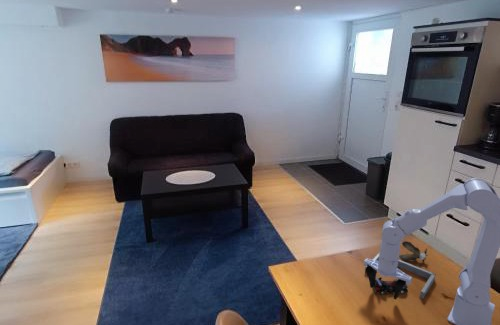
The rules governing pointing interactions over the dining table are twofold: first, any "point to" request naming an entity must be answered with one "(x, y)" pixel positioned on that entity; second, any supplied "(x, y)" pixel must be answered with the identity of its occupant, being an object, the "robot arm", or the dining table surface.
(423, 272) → the garage bay
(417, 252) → the eagle figurine
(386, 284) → the toy car
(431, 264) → the dining table surface
